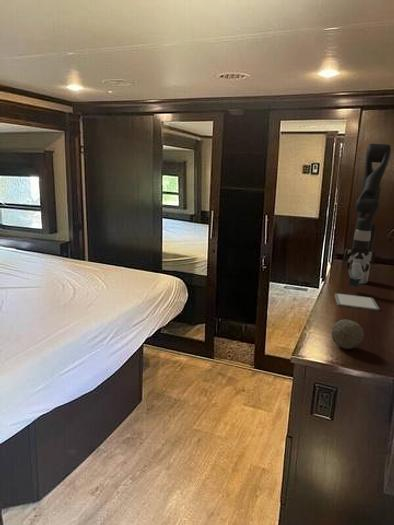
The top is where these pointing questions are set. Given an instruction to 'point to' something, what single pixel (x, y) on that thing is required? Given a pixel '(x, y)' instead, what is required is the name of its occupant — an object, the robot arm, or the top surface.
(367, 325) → the top surface
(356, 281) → the watch
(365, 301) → the mat
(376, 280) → the top surface
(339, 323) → the decorative stone
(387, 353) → the top surface
